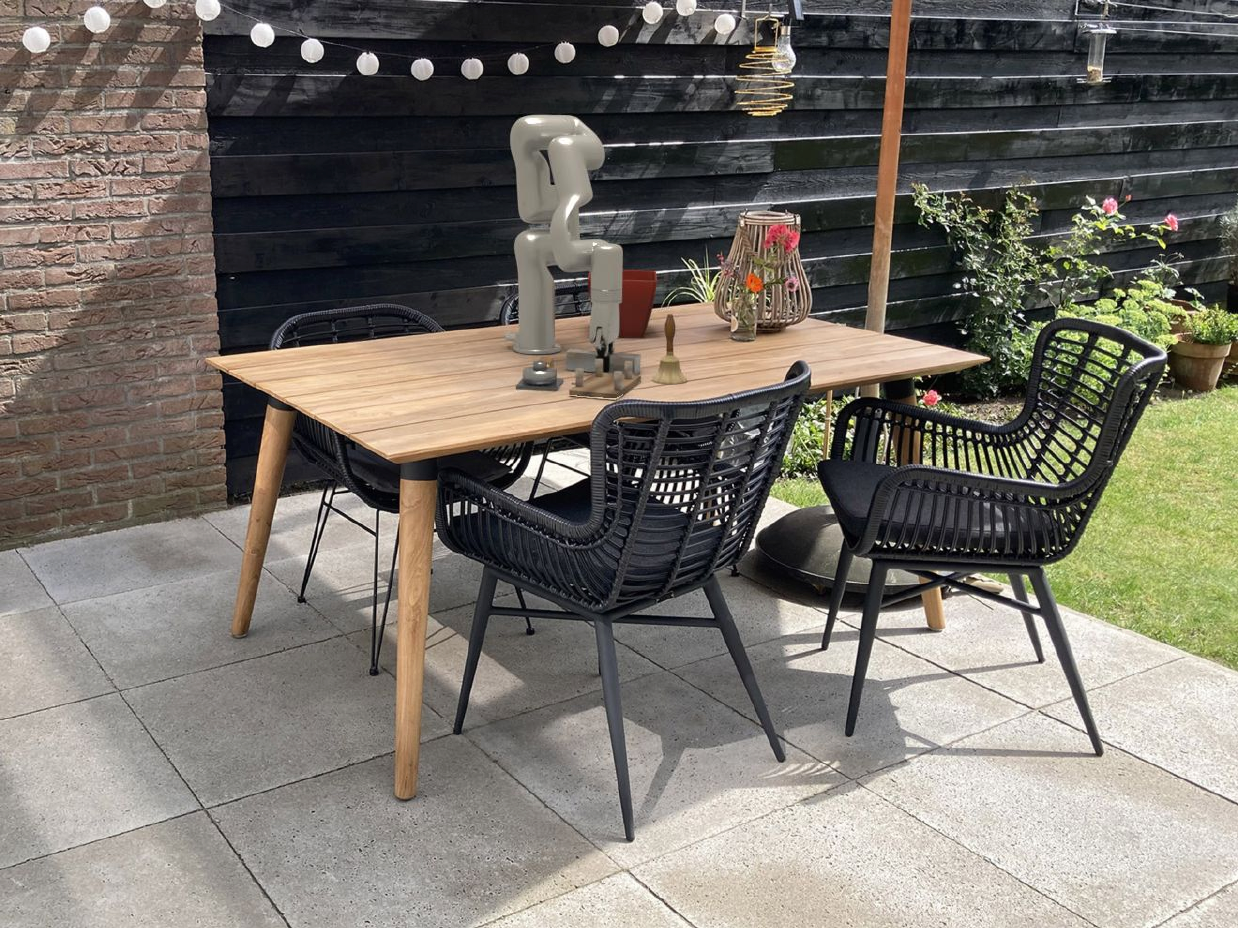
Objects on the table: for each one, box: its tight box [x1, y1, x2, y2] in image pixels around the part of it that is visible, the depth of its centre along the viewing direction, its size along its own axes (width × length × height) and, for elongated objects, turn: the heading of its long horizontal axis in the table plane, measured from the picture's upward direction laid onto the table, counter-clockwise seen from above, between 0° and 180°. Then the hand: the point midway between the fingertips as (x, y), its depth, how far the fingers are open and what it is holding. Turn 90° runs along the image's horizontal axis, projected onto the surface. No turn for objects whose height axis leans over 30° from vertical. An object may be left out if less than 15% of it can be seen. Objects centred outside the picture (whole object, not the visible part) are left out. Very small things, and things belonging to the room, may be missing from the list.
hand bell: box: [651, 313, 688, 385], centre depth 296 cm, size 8×8×16 cm
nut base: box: [515, 377, 564, 392], centre depth 290 cm, size 10×14×1 cm, turn 83°
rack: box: [568, 359, 642, 401], centre depth 287 cm, size 11×20×6 cm, turn 163°
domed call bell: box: [522, 356, 558, 384], centre depth 293 cm, size 14×8×4 cm, turn 173°
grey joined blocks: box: [565, 348, 642, 375], centre depth 305 cm, size 18×5×4 cm, turn 73°
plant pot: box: [586, 269, 658, 339], centre depth 352 cm, size 19×19×17 cm
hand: (604, 369), depth 305 cm, fingers closed on grey joined blocks, 3 cm apart
